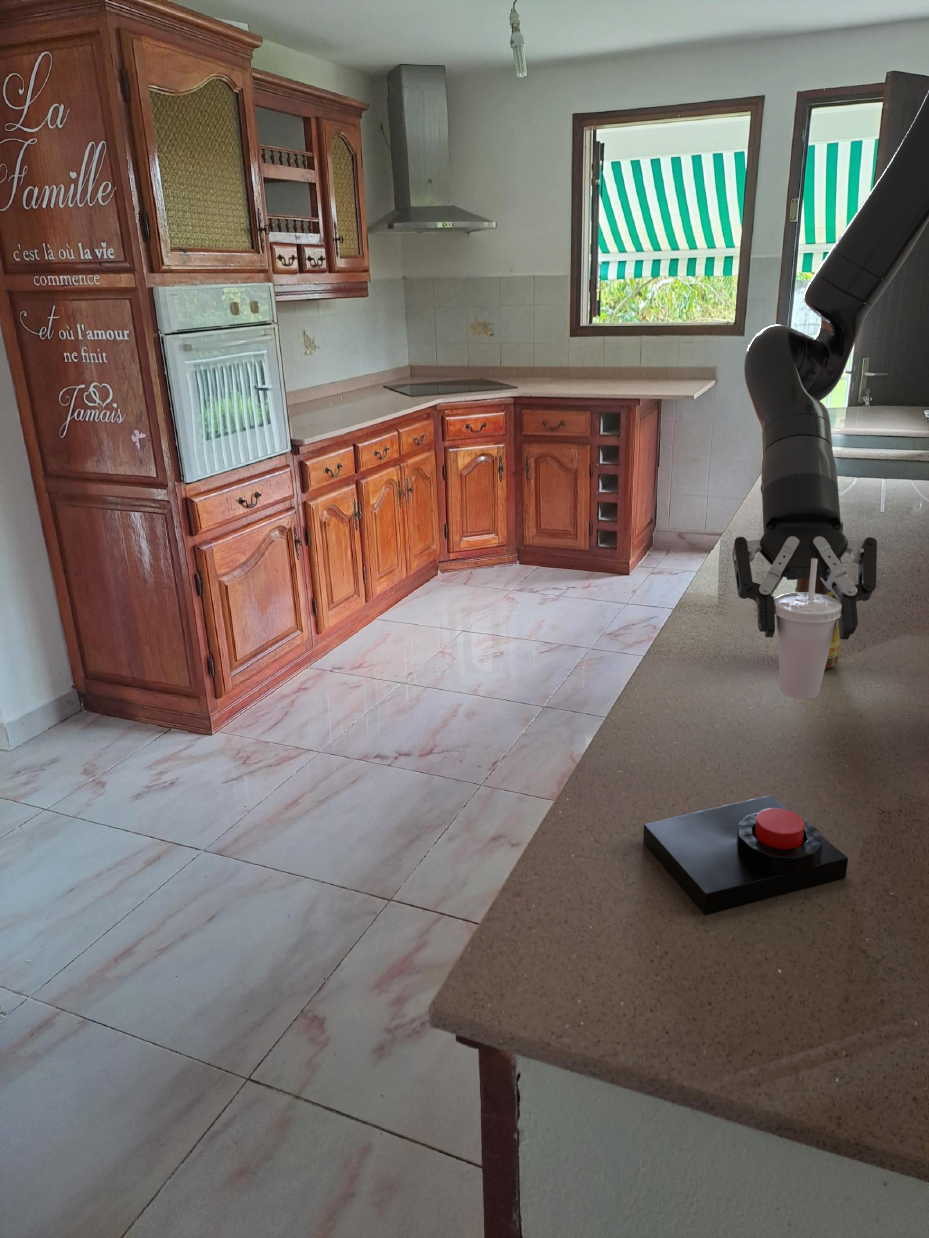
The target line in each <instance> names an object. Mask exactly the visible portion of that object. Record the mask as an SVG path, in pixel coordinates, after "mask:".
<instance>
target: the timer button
mask: <svg viewBox="0 0 929 1238" xmlns="http://www.w3.org/2000/svg"><path fill="white" fill-rule="evenodd" d="M803 819H804V818H803V817H801V816H800V815H799V814H798V813H796V812H794V811H792V810H791V811H789V810H785V809H779V808H770V809H765V810H763V811H761V812H759V813H758V814H757V817H756V828H755V837H756V839H757V840H758V841H759V842H760V843H762V844H765V845H767V846H770V847H772V848H775V849H787V850H790V849H794V848H798V847H800V846H801V845H802V843H803V837H804V827H805V823H804V821H803Z"/></svg>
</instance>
